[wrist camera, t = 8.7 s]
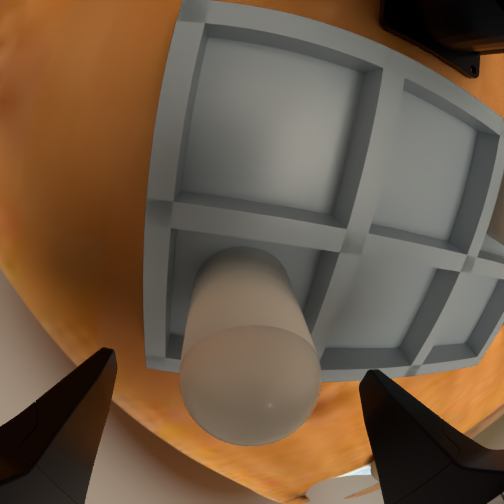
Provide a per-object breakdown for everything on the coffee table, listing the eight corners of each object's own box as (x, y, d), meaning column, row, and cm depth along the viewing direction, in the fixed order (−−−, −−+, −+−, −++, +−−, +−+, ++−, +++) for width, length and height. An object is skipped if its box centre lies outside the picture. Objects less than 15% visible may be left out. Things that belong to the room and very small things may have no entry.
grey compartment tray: (536, 163, 12) (557, 171, 10) (464, 348, 19) (477, 365, 17) (190, 18, 9) (183, -2, 7) (153, 340, 15) (146, 367, 13)
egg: (300, 253, 13) (366, 386, 6) (277, 332, 15) (308, 465, 8) (198, 239, 13) (169, 379, 6) (190, 322, 14) (172, 462, 7)
